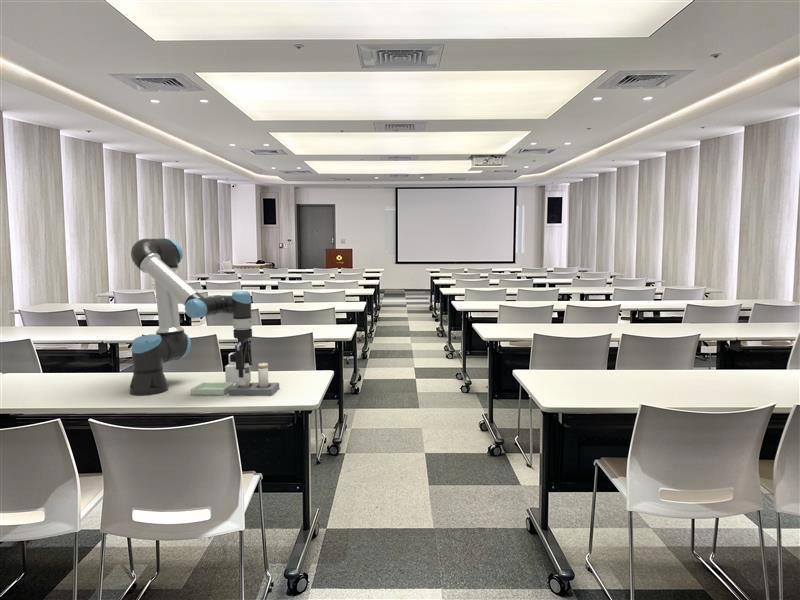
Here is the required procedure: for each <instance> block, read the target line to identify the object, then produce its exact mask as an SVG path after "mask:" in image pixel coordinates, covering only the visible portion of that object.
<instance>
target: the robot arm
mask: <svg viewBox="0 0 800 600" xmlns="http://www.w3.org/2000/svg"><path fill="white" fill-rule="evenodd" d="M131 247H132V248H131V250H130V257H131V260H132V262H133V263H134V265H135V266H136V268H138V269H139V270H140V271H141V272H142V273H146V274H148V275H149V276H150V277H152V278H153V279H154V286H155V287H154V288H155V296H156V306H157V309H156V310H157V319H158V326H159V327H158V329H157V330H156V331H155V333H153V334H145V335H141V336H138V337H136V338H134V339H133V340H132V342H131V356H132V357H131V359H132V372H133V374H132V379H131V382H130V384H129V385H130V386H129V393H130V394H131V395H134V396H146V395H147V396H149V395H155V394H160V393H165V392H167V391H168V390H169V383H168V380H167V378H166V376H165V373H164V366H163V364H165V363H168V362H173V361H178V360H180V359H182V358H183V359H184V358H185V357H187V355H188V354H189V353H190V350H191V348H192V341H191V338H190V337H189V335H188V334H187V332H185V329H184V328H183V327H182V326H181V325H180V324H181V321H180V312H179V310H180V309H179V302H180V303H181V304H182V305H183V306H184V311H185V313H186V315H187V316H188V317H189V318H192V319H199V318H204V317H210V316H216V315H223V314H226V315H227V314H228V315H232V328H233V331H232V333H233V339H235V340H236V339H237V342H236V344H235V346H234V349H235V352H236V370H238V381H239V385H246V381H245V369H244V363H249V370H250V372H249V377H250V382H251V381H252V378H251V366H253V359H252V340H251V338H253V329H252V326H253V323H254V321H253V319H252V297H251V293H250V291H247V290H240V291H239V290H236V291H232V292H231V295H220V294H217V295H211V296H208V297H204V296H203V295H202V294H201V293H199V292H198V291H197V290H196V289H195V288H194V287H193V286H191V284H189V283H188V282H187V281H186V280H185V279H183V278H182V276H180V275H179V274H178V273H177V271H178V269H179V264H180V263H181V262H182V259H183V257H184V256H183V254H184V253H183V249H182V247H181V245H180V243H178V242H177V241H176V240H174V239H171V238H166V237H165V238H142V239H139V240H138V241H136V242H135V243H134V244H133V245H132V246H131ZM178 301H179V302H178Z"/></svg>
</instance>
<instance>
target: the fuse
mask: <svg viewBox="0 0 800 600" xmlns="http://www.w3.org/2000/svg"><path fill="white" fill-rule="evenodd" d="M257 375H258V376H257V377H258V383H259V388H269V385H268V383H269V363H268V362H260V363H257Z"/></svg>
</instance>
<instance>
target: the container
mask: <svg viewBox="0 0 800 600" xmlns="http://www.w3.org/2000/svg"><path fill="white" fill-rule="evenodd" d="M224 369H225V370H224V371H225V372H224V373H225V382H231V383H234V384H237V383H239V381H238V370H236V351H235V352H230V353H228V364H227V365H225V366H224Z"/></svg>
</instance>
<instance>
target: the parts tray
mask: <svg viewBox="0 0 800 600" xmlns="http://www.w3.org/2000/svg"><path fill="white" fill-rule="evenodd" d="M234 385H235V383H231V382H226V381H225V382H223V381H222V382H217V381H216V382H205V381H203V382H200V383H198V384H197V385H194V387H191V389H189V392H190V394H189V395H190V396H219V397H220V396H222V397H223V396H225V395H226V394H228V389H230V388H231V387H233V386H234Z"/></svg>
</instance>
